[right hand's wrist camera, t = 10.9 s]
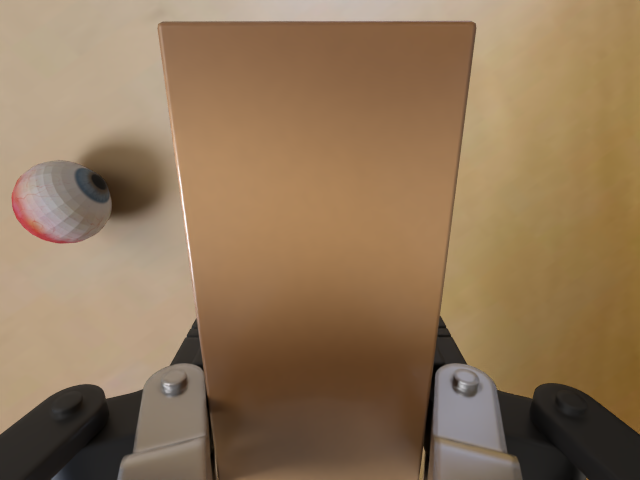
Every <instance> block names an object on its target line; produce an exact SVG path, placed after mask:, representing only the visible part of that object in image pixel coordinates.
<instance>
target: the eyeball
mask: <svg viewBox="0 0 640 480" xmlns="http://www.w3.org/2000/svg"><path fill="white" fill-rule="evenodd" d="M12 207H13V211H14V213H15V215H16V218H17V219H18V221H19V222H20V223H21V224H22V226H23V227H24V228H25V229H26V230H28V231H29V232H30V233H31V234H33V235H35V236H37V237H39V238H41V239H43V240H46V241H50V242H54V243H76V242H80V241H83V240H85V239H87V238H89V237H91V236H93V235H95V234H96V233H98V232H99V231H100V230H101V229H102V228H103V227H104V225H105V224H106V222H107V221H108V219H109V217H110V214H111V207H112V202H111V197H110V193H109V190H108V186H107V184H106V182H105V181H104V179H103V178H102V177H101V176H99V175H98V174H97V173H95V172H93V171H91V170H90V169H88V168H86V167H84V166H82V165H80V164H77V163H73V162H69V161H60V160H59V161H51V162H44V163H41V164H38V165H36V166H34V167H32V168H31V169H29V170H28V171H27V172H25V173H24V174H23V175H22V176H21V177H20V178H19V179H18V180H17V182H16V185H15V187H14V190H13V193H12Z"/></svg>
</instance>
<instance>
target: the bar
mask: <svg viewBox="0 0 640 480" xmlns="http://www.w3.org/2000/svg"><path fill="white" fill-rule="evenodd" d="M475 34H476V23H474V22H472V21H220V22H161V23H159V24H158V35H159V42H160V50H161V57H162V65H163V72H164V79H165V87H166V94H167V102H168V109H169V116H170V124H171V131H172V139H173V146H174V154H175V161H176V168H177V176H178V183H179V191H180V198H181V205H182V213H183V220H184V228H185V235H186V242H187V250H188V257H189V265H190V272H191V279H192V287H193V294H194V302H195V309H196V316H197V324H198V331H199V339H200V346H201V353H202V361H203V368H204V376H205V383H206V391H207V398H208V405H209V413H210V420H211V428H212V435H213V442H214V450H215V457H216V465H217V472H218V479H219V480H419V475H420V467H421V459H422V451H423V443H424V435H425V427H426V420H427V412H428V404H429V396H430V388H431V380H432V372H433V364H434V357H435V349H436V341H437V333H438V325H439V317H440V309H441V302H442V294H443V286H444V278H445V270H446V262H447V254H448V247H449V239H450V231H451V223H452V215H453V207H454V199H455V191H456V184H457V176H458V168H459V160H460V152H461V144H462V136H463V129H464V121H465V113H466V105H467V97H468V89H469V81H470V73H471V66H472V58H473V50H474V42H475Z"/></svg>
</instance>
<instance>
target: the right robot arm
mask: <svg viewBox="0 0 640 480" xmlns="http://www.w3.org/2000/svg"><path fill="white" fill-rule="evenodd" d="M423 446H424V450H425V455H424V466H423V480H586V478H588V479H589V480H640V435H639V434H638V433H637V432H636V431H634V430H633V429H632V428H630V427H629V426H628V425H626V424H625V423H624V422H623V421H621V420H620V419H619V418H617V417H616V416H615V415H614V414H612V413H611V412H610V411H608V410H607V409H606V408H605V407H603V406H602V405H601V404H599V403H598V402H597V401H595V400H594V399H593V398H591V397H590V396H589V395H587V394H585V393H584V392H582V391H580V390H577V389H575V388H573V387H570V386H566V385H562V384H556V383H547V384H543V385H540V386H538V387H537V388H536V389H535V392H534V395H533V399H531V398H527V397H523V396H518V395H514V394H510V393H506V392H502V391H499V390H497V388H496V385H495V383H494V382H493V380H492V379H491V378H490V377H489V376H488V375H487V374H485V373H484V372H483V371H481V370H479V369H477V368H475V367H472V366H469V365H467V363H466V361H465V360H464V358H463V356H462V354H461V352H460V351H459V349H458V347H457V345H456V343H455V342H454V340H453V338H452V337H451V334H450V332H449V331H448V329H447V328H446V325H445V323H444V322H443V320H442V318H441V316H440V317H439V325H438V333H437V341H436V349H435V357H434V364H433V372H432V380H431V388H430V396H429V404H428V412H427V420H426V427H425V435H424V443H423ZM0 480H217V466H216V457H215V450H214V442H213V435H212V428H211V420H210V413H209V405H208V398H207V391H206V383H205V376H204V368H203V361H202V353H201V346H200V339H199V331H198V324H197V318H196V320H195V322H194V323H193V325H192V329H190V331H189V332H188V334H187V338H185V339H184V341H183V343H182V345H181V347H180V348H179V350H178V352H177V354H176V356H175V357H174V359H173V361H172V363H171V364H170V366H168V367H165V368H163V369H161V370H159V371H157V372H156V373H155V374H153V375H152V376H151V377H150V378H149V379H148V380H147V382H146V383H145V385H144V388H143V389H142V390H140V391H137V392H134V393H130V394H126V395H121V396H117V397H113V398H108V399H106V398H105V394H104V391H103V390H102V389H101V388H100V387H99V386H96V385H91V384H84V385H77V386H73V387H69V388H66V389H64V390H61V391H59V392H57V393H55V394H54V395H52V396H50V397H49V398H47V399H46V400H44V401H43V402H42V403H41V404H39V405H38V406H37V407H35V408H34V409H33V410H32V411H30V412H29V413H28V414H26V415H25V416H24V417H23V418H21V419H20V420H19V421H17V422H16V423H15V424H13V425H12V426H11V427H10V428H8V429H7V430H6V431H4V432H3V433H2V434H1V435H0Z"/></svg>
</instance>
